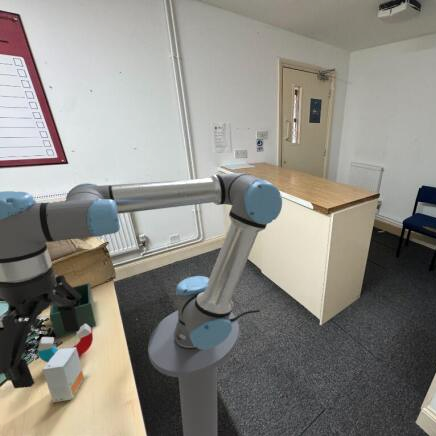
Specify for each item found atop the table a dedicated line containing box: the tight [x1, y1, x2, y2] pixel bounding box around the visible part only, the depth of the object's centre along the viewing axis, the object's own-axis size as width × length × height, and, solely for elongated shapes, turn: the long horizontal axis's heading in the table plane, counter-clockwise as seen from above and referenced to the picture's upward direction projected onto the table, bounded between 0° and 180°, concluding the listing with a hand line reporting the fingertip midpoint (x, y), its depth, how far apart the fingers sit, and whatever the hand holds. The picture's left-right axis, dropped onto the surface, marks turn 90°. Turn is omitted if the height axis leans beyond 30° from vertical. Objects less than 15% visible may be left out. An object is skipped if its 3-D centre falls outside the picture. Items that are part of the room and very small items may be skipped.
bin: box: [48, 282, 97, 339], centre depth 84 cm, size 14×10×10 cm
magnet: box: [37, 323, 94, 364], centre depth 71 cm, size 12×3×10 cm, turn 129°
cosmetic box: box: [42, 347, 85, 403], centre depth 62 cm, size 6×4×12 cm
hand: (51, 354), depth 52 cm, fingers open, 13 cm apart
